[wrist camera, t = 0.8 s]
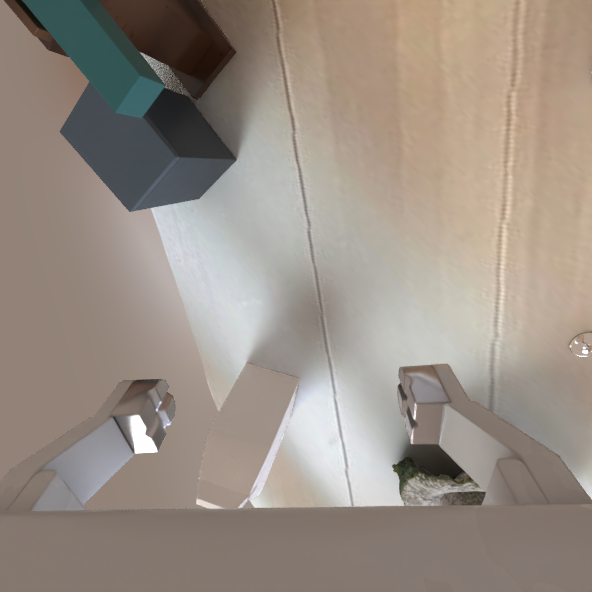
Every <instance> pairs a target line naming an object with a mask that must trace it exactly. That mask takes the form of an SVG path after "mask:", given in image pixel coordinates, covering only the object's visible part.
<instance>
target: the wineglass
mask: <svg viewBox="0 0 592 592" xmlns="http://www.w3.org/2000/svg"><path fill="white" fill-rule="evenodd" d="M570 350H571V352H572V353H573V354H575V355H577V356H580V357H589V356H592V333H583V334H580V335H578V336H576V337H575V338H574V339H573V340H572V341H571V343H570Z"/></svg>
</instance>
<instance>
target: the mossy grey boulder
mask: <svg viewBox="0 0 592 592" xmlns="http://www.w3.org/2000/svg"><path fill="white" fill-rule="evenodd" d="M392 467H393V468H394V470H393V471H394V472H397V474H398V476H399V479H400V483H399V490H400V495H401V499H402V500H403V501H404V505H405V506H444V505H482V503H483V500H484V497H485V494H486V492H485V491H484V490H483V489H482V488H481V487H480V486H479V485H478V484H477V483H476V482H475V481H474V480H473V479H472V478H471V477H470V476H469V475H468V474H467V473H466V472H465V471H463V472H462V473H460V474H459V475H458V476H457V477H456V478H455V480H454V479H453V478H452V477H450V476H447V475H442V474H441V475H440V476H439V477H436V476H435V475H433V474H431V473H429V472H428V471H427V470H426V469H425V467H421V468H420V469H417V467H416V465H415V464H414V462H413V460H412V459H411V458H410V457H405V458H404V460H403V461H401V462H399V463H398V464H397V465H395V464H394V465H393V466H392Z"/></svg>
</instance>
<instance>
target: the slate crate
mask: <svg viewBox="0 0 592 592" xmlns="http://www.w3.org/2000/svg"><path fill="white" fill-rule="evenodd" d="M60 133H61V134H62V135H63V136H64V137H65V138H66V140H67V141H68V142H69V143H70V144H71V145H72V146H73V148H75V150H76V151H77V152H78V153H79V154H80V156H81V157H82V158H83V159H84V160H85V161H86V162H87V164H88V165H89V166H90V167H91V168H92V169H93V170H94V172H95V173H96V174H97V175H98V176H99V177H100V179H101V180H102V181H103V182H104V183H105V184H106V185H107V186H108V188H109V189H110V190H111V191H112V192H113V193H114V195H115V196H116V197H117V198H118V199H119V200H120V201H121V203H122V204H123V205H124V206H125V207H126V208H127V209H128V210H129V212H131V211H136V210H142V209H147V208H153V207H158V206H163V205H169V204H174V203H179V202H185V201H190V200H195V199H199V198H200V197H201V196H202V195H203V194H204V193H205V192H206V191H207V190H208V189H209V188H210V187H211V186H212V185H213V184H214V183H215V182H216V181H217V180H218V179H219V177H220V176H221V175H222V174H223V173H224V172H225V171H226V170H227V169H228V168H229V167H230V166H231V165H232V164H233V163H234V162H235V161H236V158H235V157H234V156H233V155H232V153H231V152H230V151H229V149H228V148H227V147H226V146H225V144H224V143H223V142H222V140H221V139H220V138H219V137H218V135H217V134H216V133H215V131H214V130H213V129H212V128H211V126H210V125H209V124H208V122H207V121H206V120H205V118H204V117H203V116H202V115H201V113H200V112H199V111H198V109H197V108H196V107H195V106H194V104H193V103H192V102H191V100H190V99H189V98H188V97H187V96H185V95H182V94H179V93H177V92H174V91H171V90H169V89H166V88H163V90H162V91H161V93H160V94H159V95H158V97H157V98H156V99H155V101H154V102H153V103H152V105H151V106H150V108H149V109H148V110H147V112H146V113H145V114H144V116H143V117H142V118H139V117H134V116H129V115H124V114H119V113H115V111H114V110H113V109H112V108H111V107H110V105H109V104H108V103H107V102H106V101H105V99H104V98H103V97H102V96H101V95H100V93H99V92H98V91H97V90H96V89H95V87H94V86H93V85H92V84H91V83H90V82H89V84H88V86H87V87H86V89H85V91H84V92H83V94H82V96H81V97H80V99H79V100H78V102H77V104H76V105H75V107H74V109H73V111H72V112H71V114H70V115H69V117H68V119H67V120H66V122H65V124H64V125H63V127H62V129H61V130H60Z"/></svg>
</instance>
